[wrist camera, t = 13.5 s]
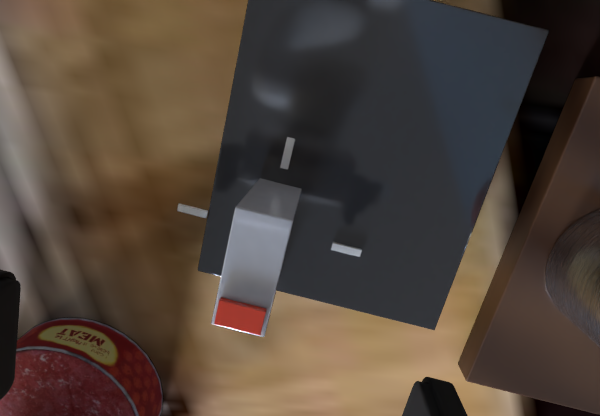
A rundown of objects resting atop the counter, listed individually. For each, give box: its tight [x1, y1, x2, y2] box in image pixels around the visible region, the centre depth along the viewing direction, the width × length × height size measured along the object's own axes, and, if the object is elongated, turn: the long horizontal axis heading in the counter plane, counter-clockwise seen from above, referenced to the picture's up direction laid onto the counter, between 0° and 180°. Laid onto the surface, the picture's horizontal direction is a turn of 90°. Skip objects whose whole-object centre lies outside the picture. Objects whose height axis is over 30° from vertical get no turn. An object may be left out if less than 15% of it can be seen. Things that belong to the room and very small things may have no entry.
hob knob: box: [211, 178, 302, 337], centre depth 16 cm, size 5×2×5 cm, turn 167°
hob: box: [177, 0, 549, 330], centre depth 19 cm, size 15×13×3 cm
